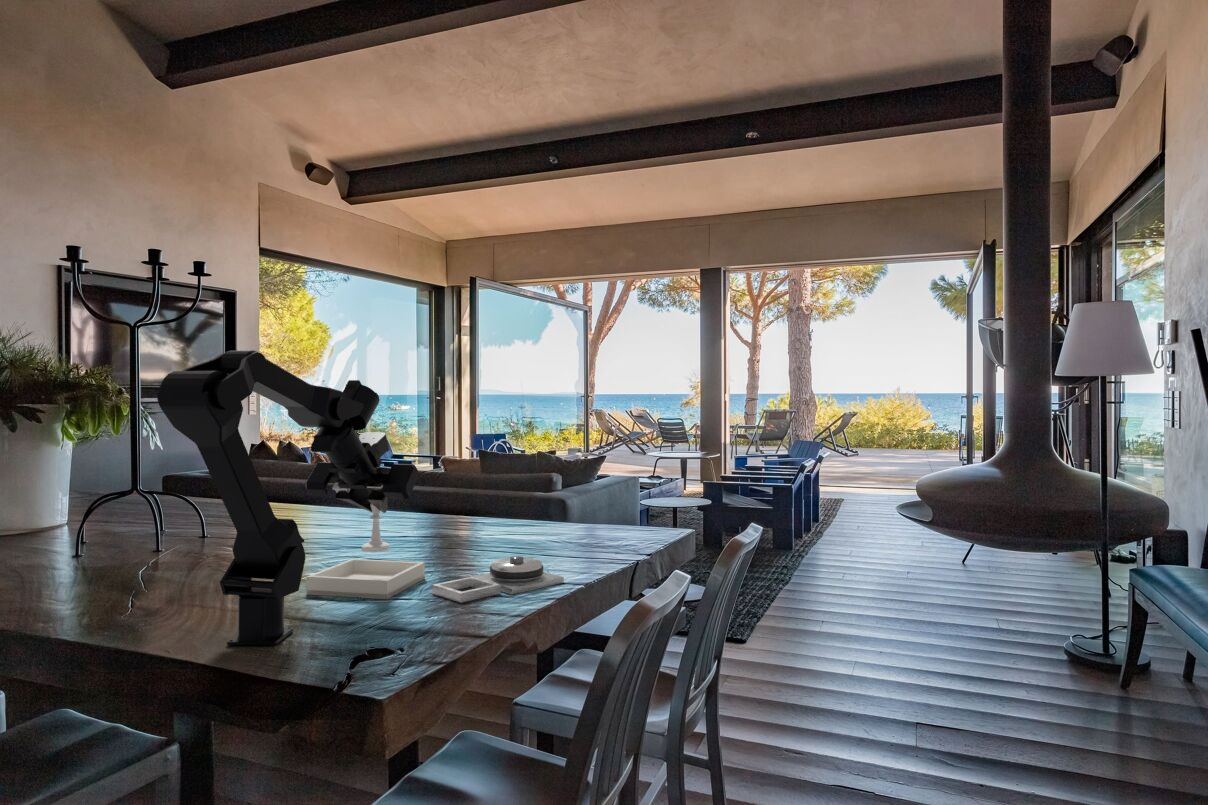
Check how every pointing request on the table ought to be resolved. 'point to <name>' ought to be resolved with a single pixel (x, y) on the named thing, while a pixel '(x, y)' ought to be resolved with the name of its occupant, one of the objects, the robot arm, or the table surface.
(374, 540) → the chess piece
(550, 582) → the bracket
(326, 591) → the tray
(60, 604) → the table surface
